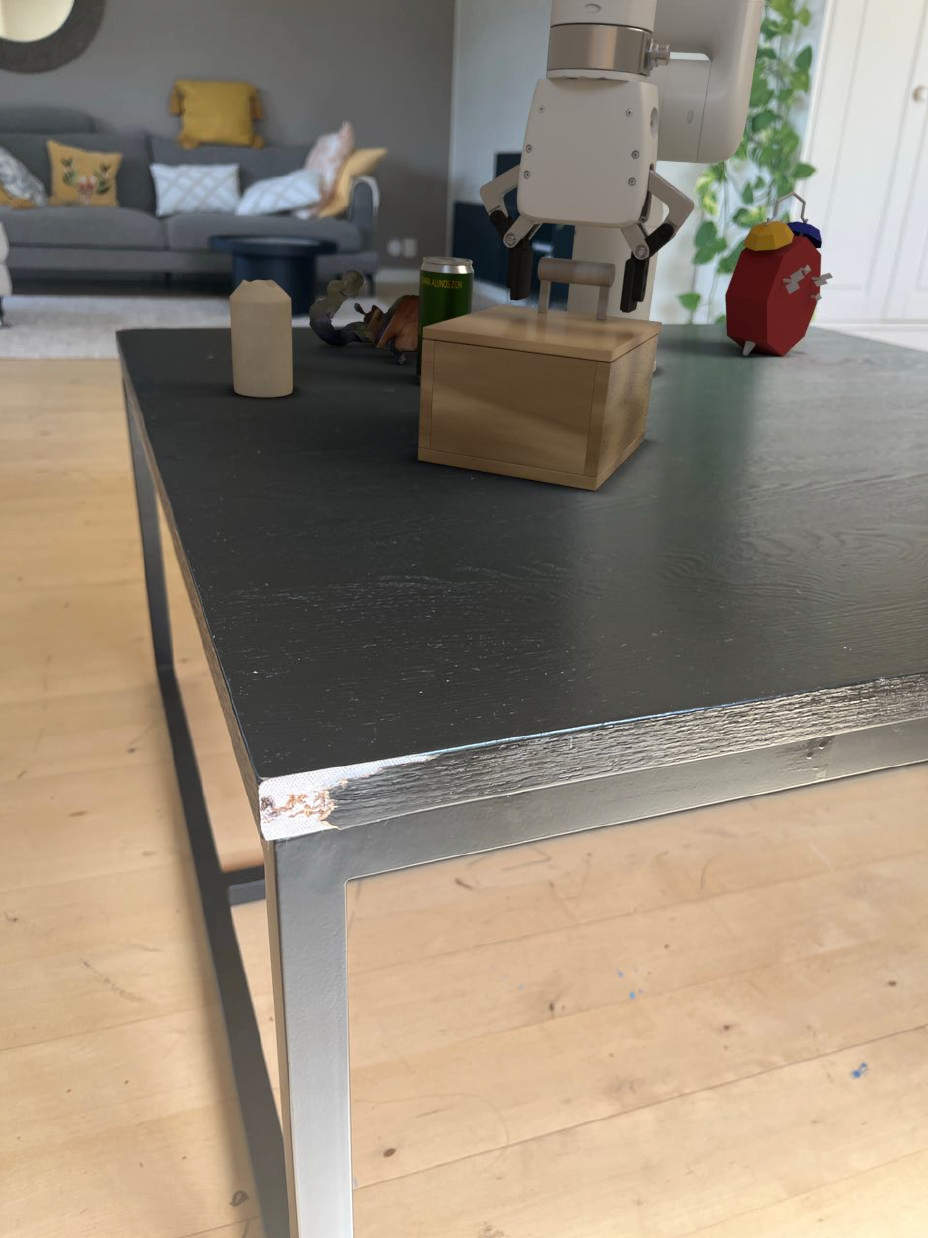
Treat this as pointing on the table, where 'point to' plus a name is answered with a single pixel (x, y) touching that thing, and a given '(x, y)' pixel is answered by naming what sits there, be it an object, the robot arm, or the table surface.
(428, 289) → the beer can
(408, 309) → the figurine
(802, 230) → the alarm clock
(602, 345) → the lid
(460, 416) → the chest
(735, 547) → the table surface
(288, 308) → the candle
